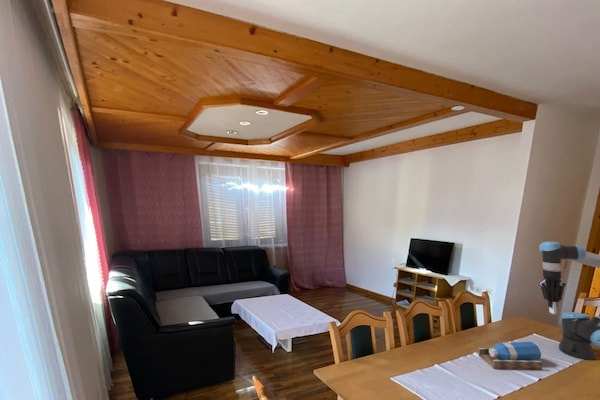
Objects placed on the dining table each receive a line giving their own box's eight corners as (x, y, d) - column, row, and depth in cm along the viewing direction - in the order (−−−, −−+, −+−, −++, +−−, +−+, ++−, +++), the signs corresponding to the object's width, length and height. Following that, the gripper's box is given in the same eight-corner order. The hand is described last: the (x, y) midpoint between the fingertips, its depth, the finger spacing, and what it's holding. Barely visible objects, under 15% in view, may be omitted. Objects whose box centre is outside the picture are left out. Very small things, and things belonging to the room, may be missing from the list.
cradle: (522, 356, 158) (522, 349, 158) (541, 370, 144) (541, 361, 145) (478, 355, 158) (478, 348, 158) (494, 369, 145) (494, 360, 145)
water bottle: (539, 343, 149) (496, 345, 147) (543, 363, 147) (500, 365, 145) (524, 339, 158) (483, 341, 156) (527, 357, 156) (486, 359, 154)
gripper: (557, 268, 156) (558, 310, 155) (534, 268, 156) (535, 310, 155) (570, 271, 148) (571, 316, 148) (545, 271, 149) (546, 315, 148)
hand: (553, 313), depth 152 cm, fingers closed
